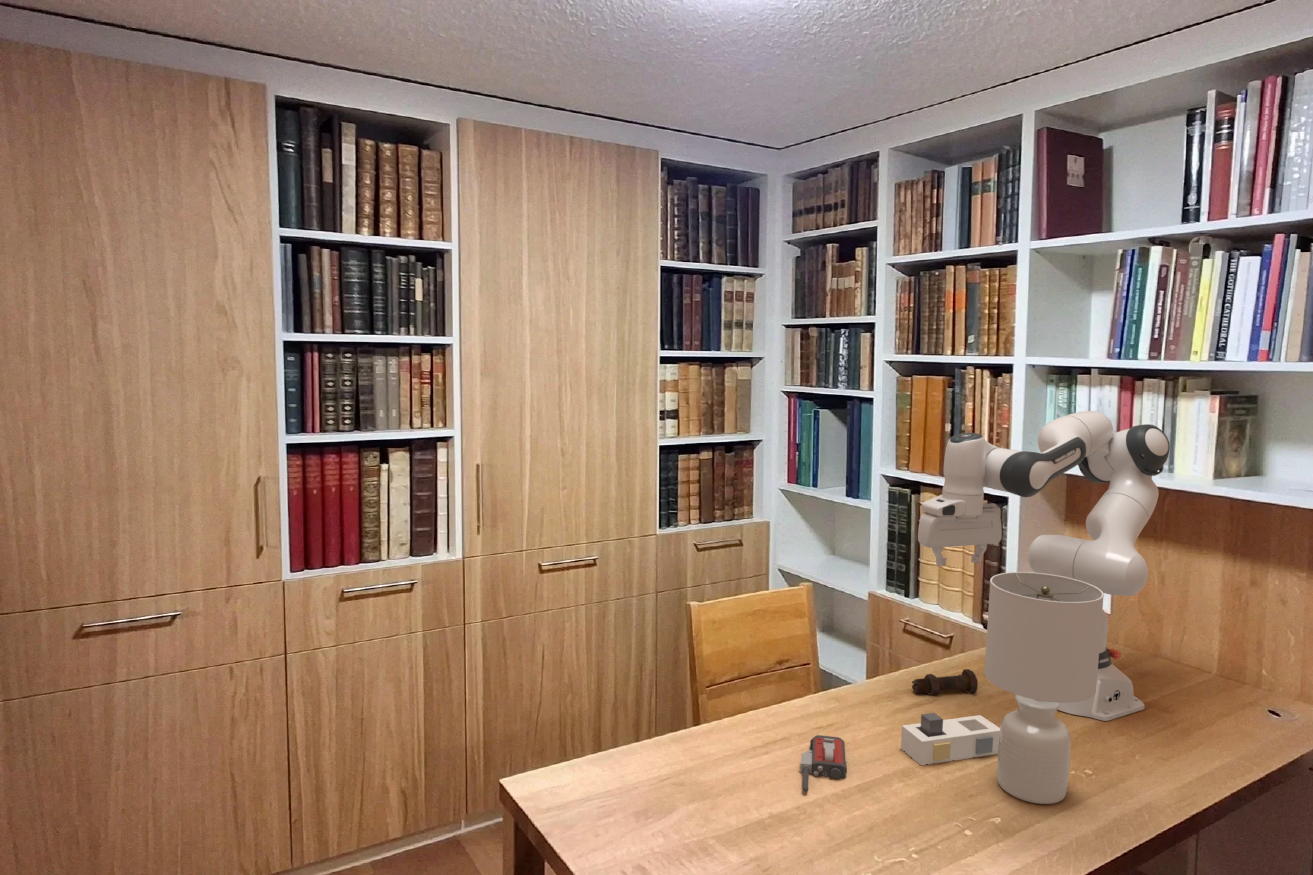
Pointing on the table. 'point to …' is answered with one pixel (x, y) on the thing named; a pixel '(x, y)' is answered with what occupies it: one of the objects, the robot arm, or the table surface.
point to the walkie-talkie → (824, 759)
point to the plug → (931, 724)
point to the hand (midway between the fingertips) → (958, 564)
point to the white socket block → (951, 740)
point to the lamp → (1040, 673)
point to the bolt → (946, 683)
